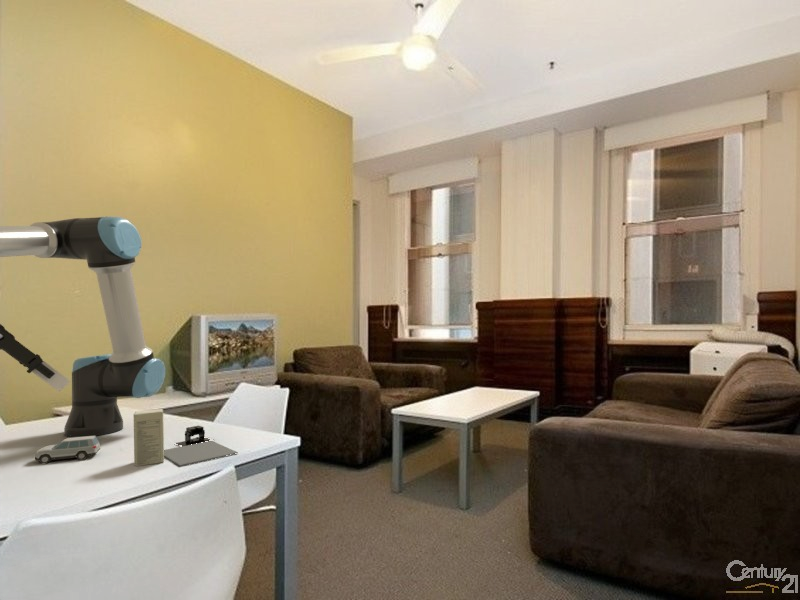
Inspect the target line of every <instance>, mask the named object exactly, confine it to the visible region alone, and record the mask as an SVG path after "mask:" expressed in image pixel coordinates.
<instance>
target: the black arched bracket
mask: <svg viewBox="0 0 800 600" xmlns="http://www.w3.org/2000/svg"><path fill="white" fill-rule="evenodd" d="M205 433H206V432H205V427H204V426H202V425H194V426H190V427H189V426H188V427H186V429H185V431H184V441H179V442H175V443H176V444H178V445H182V446H187V445H191V444H196V443H201V442H205V441H209V440H210V439H208V438H209V437H208V438H204V437H205V435H206V434H205ZM196 435H198V436H197V437H195V436H196ZM191 437H193V438H191Z"/></svg>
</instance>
